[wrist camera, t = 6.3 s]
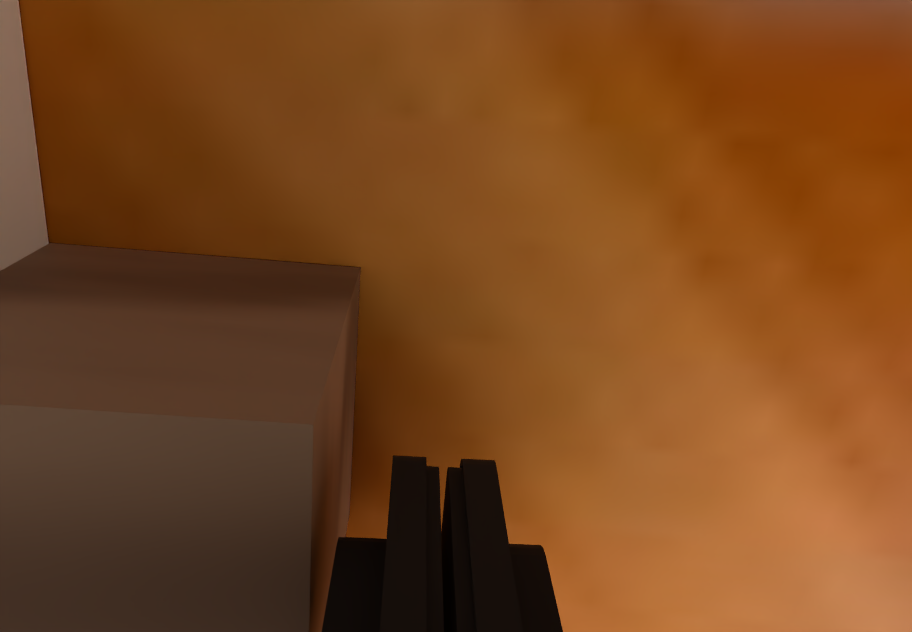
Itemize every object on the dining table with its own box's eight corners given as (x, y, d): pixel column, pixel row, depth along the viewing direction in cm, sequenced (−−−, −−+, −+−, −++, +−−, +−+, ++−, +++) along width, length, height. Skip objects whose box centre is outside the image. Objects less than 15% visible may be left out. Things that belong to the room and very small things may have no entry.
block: (50, 242, 14) (-213, 390, 8) (360, 267, 14) (313, 424, 8) (82, 497, 16) (-107, 751, 10) (349, 513, 16) (306, 764, 11)
